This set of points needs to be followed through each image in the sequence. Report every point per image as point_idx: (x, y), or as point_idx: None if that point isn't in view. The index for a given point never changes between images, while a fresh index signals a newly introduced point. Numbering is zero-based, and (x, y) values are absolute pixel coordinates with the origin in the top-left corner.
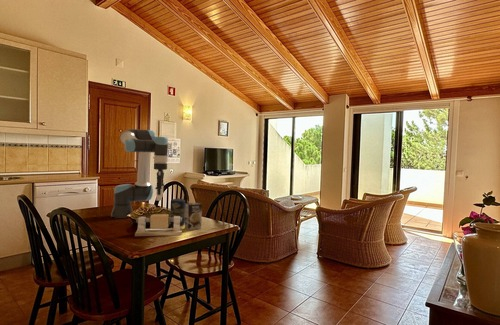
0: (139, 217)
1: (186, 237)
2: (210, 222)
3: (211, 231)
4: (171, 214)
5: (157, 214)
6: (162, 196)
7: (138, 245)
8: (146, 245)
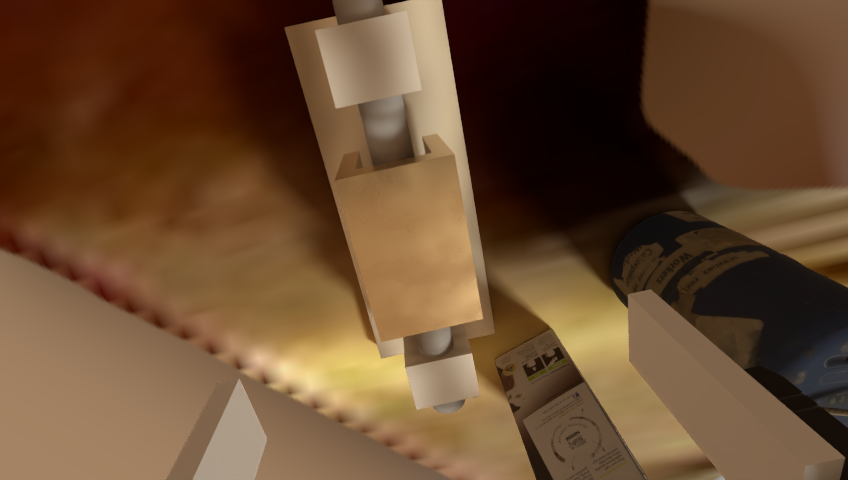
0: (374, 26)
1: (327, 384)
2: None
3: (476, 474)
4: (682, 262)
5: (458, 218)
6: (632, 358)
7: (63, 151)
8: (85, 205)
